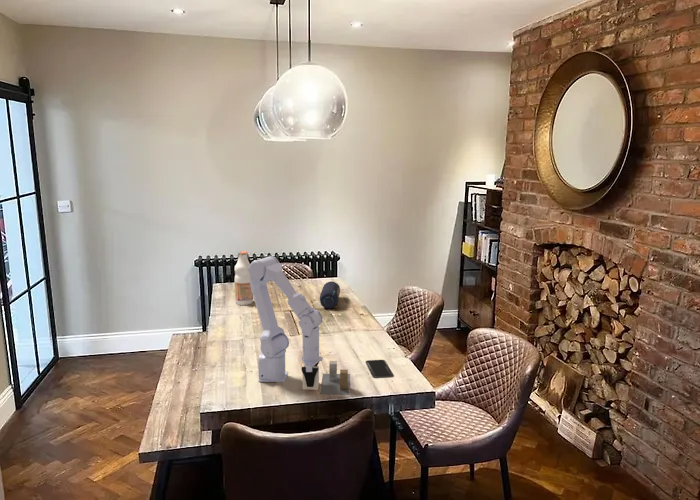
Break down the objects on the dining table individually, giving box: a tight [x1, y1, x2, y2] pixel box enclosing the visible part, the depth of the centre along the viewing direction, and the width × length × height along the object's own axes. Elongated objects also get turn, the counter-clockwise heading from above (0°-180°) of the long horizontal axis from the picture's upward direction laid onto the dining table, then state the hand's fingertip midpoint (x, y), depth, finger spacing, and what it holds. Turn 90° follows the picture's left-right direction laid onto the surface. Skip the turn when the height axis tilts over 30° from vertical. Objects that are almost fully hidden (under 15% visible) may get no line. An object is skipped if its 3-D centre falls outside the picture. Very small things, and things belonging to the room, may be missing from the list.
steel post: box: [328, 360, 338, 381], centre depth 180 cm, size 3×3×6 cm
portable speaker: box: [319, 281, 341, 309], centre depth 271 cm, size 25×10×10 cm, turn 178°
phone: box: [365, 359, 394, 379], centre depth 190 cm, size 8×1×15 cm
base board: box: [319, 373, 351, 396], centre depth 177 cm, size 10×16×1 cm, turn 179°
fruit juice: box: [234, 250, 254, 306], centre depth 268 cm, size 9×9×28 cm
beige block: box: [302, 365, 320, 391], centre depth 175 cm, size 5×5×7 cm
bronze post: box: [339, 369, 349, 390], centre depth 173 cm, size 3×3×6 cm
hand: (310, 382), depth 175 cm, fingers closed on beige block, 5 cm apart
